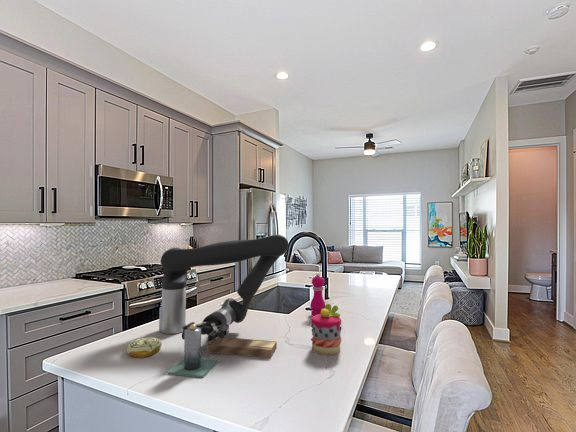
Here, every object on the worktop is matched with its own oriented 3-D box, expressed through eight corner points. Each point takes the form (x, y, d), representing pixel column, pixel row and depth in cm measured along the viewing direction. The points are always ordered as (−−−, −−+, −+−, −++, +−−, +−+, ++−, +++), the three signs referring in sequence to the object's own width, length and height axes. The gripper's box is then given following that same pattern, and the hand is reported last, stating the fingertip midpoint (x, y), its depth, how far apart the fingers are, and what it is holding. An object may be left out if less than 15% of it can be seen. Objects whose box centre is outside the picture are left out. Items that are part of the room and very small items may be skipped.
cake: (339, 357, 108) (339, 311, 109) (307, 353, 111) (308, 308, 112) (343, 345, 118) (343, 303, 119) (314, 342, 121) (314, 301, 122)
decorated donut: (121, 359, 106) (121, 347, 106) (134, 346, 116) (134, 335, 116) (155, 358, 106) (155, 346, 106) (165, 346, 117) (165, 335, 117)
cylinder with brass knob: (180, 369, 96) (181, 325, 97) (188, 363, 101) (189, 321, 102) (196, 371, 96) (196, 327, 96) (203, 364, 100) (204, 322, 101)
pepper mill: (324, 317, 153) (324, 274, 154) (309, 316, 155) (309, 274, 155) (326, 313, 160) (326, 272, 161) (311, 312, 162) (311, 271, 162)
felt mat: (167, 374, 95) (167, 372, 95) (186, 358, 106) (186, 356, 106) (202, 377, 93) (203, 375, 93) (218, 361, 104) (218, 359, 104)
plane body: (207, 352, 111) (207, 344, 111) (217, 343, 119) (217, 336, 119) (271, 357, 107) (271, 349, 107) (276, 348, 115) (276, 340, 115)
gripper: (199, 310, 119) (175, 323, 103) (236, 312, 116) (217, 327, 100) (198, 331, 119) (174, 347, 103) (236, 334, 116) (217, 352, 100)
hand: (195, 337), depth 102 cm, fingers open, 8 cm apart
